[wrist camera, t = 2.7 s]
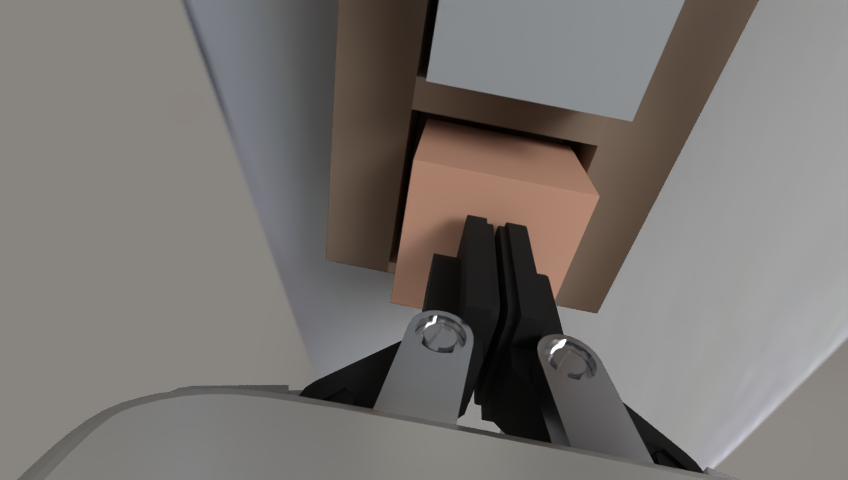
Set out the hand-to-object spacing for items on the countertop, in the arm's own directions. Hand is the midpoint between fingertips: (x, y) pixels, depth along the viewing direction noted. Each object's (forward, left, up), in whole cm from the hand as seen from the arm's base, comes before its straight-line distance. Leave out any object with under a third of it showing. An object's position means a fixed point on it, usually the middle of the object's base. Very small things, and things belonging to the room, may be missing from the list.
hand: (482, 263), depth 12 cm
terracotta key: (0, 0, -4) cm, 4 cm away
